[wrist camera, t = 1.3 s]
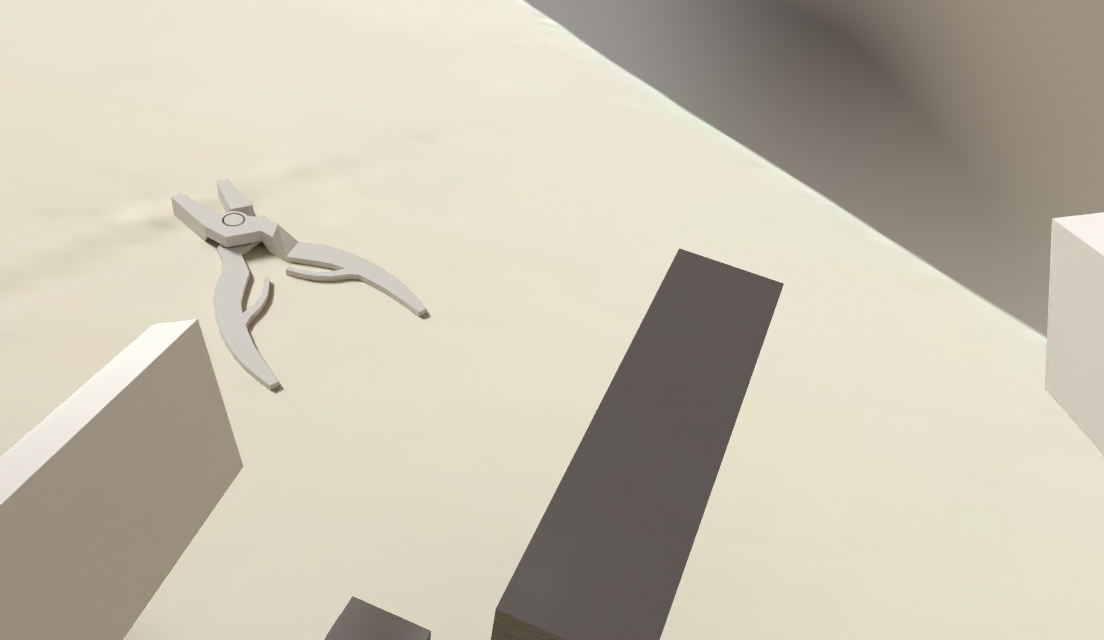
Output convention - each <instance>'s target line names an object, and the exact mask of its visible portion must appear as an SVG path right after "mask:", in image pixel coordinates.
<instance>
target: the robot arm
mask: <svg viewBox="0 0 1104 640" xmlns="http://www.w3.org/2000/svg"><path fill="white" fill-rule="evenodd" d="M1045 389H1046V390H1047V391H1048V392H1049V394H1050V395H1051V396H1052V397H1053V398H1054V399H1055V400H1056V402H1057V403H1058V404H1059V405H1060V406H1061V407H1062V408H1063V410H1064V411H1065V412H1066V413H1067V414H1068V415H1069V416H1070V417H1071V419H1072V420H1073V421H1074V422H1075V423H1076V424H1077V425H1078V427H1079V428H1080V429H1081V430H1082V431H1083V432H1084V433H1085V435H1086V436H1087V437H1088V438H1089V439H1090V440H1091V441H1092V443H1093V444H1094V445H1095V446H1096V447H1097V448H1098V449H1099V451H1100V452H1101V453H1102V454H1103V455H1104V213H1095V214H1087V215H1079V216H1069V217H1061V218H1053V219H1052V235H1051V259H1050V282H1049V305H1048V329H1047V352H1046V375H1045ZM242 467H243V464H242V461H241V458H240V454H239V451H238V448H237V445H236V441H235V438H234V435H233V432H232V429H231V425H230V422H229V419H228V416H227V412H226V409H225V406H224V403H223V399H222V396H221V393H220V390H219V386H218V383H217V380H216V377H215V374H214V370H213V367H212V364H211V361H210V357H209V354H208V351H207V348H206V344H205V341H204V338H203V335H202V331H201V328H200V325H199V322H198V319H193V320H185V321H176V322H168V323H159V324H153V325H152V326H151V327H149V328H148V329H147V330H146V331H145V332H144V333H142V334H141V335H140V336H139V337H138V338H137V339H136V340H134V341H133V342H132V343H131V344H130V345H129V346H127V347H126V348H125V349H124V350H123V351H122V352H121V353H119V354H118V355H117V356H116V357H115V358H114V359H112V360H111V361H110V362H109V363H108V364H107V365H106V366H104V367H103V368H102V369H101V370H100V371H99V372H97V373H96V374H95V375H94V376H93V377H92V378H90V379H89V380H88V381H87V382H86V383H85V384H84V385H82V386H81V387H80V388H79V389H78V390H77V391H75V392H74V393H73V394H72V395H71V396H70V397H69V398H67V399H66V400H65V401H64V402H63V403H62V404H60V405H59V406H58V407H57V408H56V409H55V410H54V411H52V412H51V413H50V414H49V415H48V416H47V417H45V418H44V419H43V420H42V421H41V422H40V423H39V424H37V425H36V426H35V427H34V428H33V429H32V430H30V431H29V432H28V433H27V434H26V435H25V436H23V437H22V438H21V439H20V440H19V441H18V442H17V443H15V444H14V445H13V446H12V447H11V448H10V449H8V450H7V451H6V452H5V453H4V454H3V455H2V456H0V640H123V638H124V637H125V636H126V634H127V633H128V631H129V630H130V628H131V627H132V625H133V624H134V623H135V621H136V620H137V618H138V617H139V615H140V614H141V613H142V611H143V610H144V608H145V607H146V605H147V604H148V602H149V601H150V600H151V598H152V597H153V595H154V594H155V592H156V591H157V590H158V588H159V587H160V585H161V584H162V582H163V581H164V579H165V578H166V577H167V575H168V574H169V572H170V571H171V569H172V568H173V567H174V565H175V564H176V562H177V561H178V559H179V558H180V556H181V555H182V554H183V552H184V551H185V549H186V548H187V546H188V545H189V544H190V542H191V541H192V539H193V538H194V536H195V535H196V533H197V532H198V531H199V529H200V528H201V526H202V525H203V523H204V522H205V521H206V519H207V518H208V516H209V515H210V513H211V512H212V510H213V509H214V508H215V506H216V505H217V503H218V502H219V500H220V499H221V498H222V496H223V495H224V493H225V492H226V490H227V489H228V487H229V486H230V485H231V483H232V482H233V480H234V479H235V477H236V476H237V475H238V473H239V472H240V470H241V469H242Z"/></svg>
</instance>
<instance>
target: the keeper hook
mask: <svg viewBox="0 0 1104 640" xmlns="http://www.w3.org/2000/svg"><path fill="white" fill-rule="evenodd" d="M782 287H783V283H780V282H777V281H774V280H771V279H768V278H765V277H762V276H759V275H756V274H753V273H750V272H747V271H745V270H742V269H739V268H736V267H733V266H730V265H727V264H724V263H721V262H718V261H715V260H712V259H709V258H706V257H703V256H700V255H697V254H694V253H691V252H688V251H685V250H682V249H679V250H678V252H677V254H676V256H675V258H674V260H673V262H672V264H671V266H670V268H669V270H668V272H667V274H666V276H665V278H664V280H663V282H662V284H661V286H660V288H659V290H658V291H657V293H656V295H655V297H654V299H653V301H652V303H651V305H650V307H649V309H648V311H647V313H646V315H645V317H644V319H643V321H642V323H641V325H640V327H639V329H638V331H637V333H636V335H635V337H634V339H633V341H632V343H631V345H630V347H629V348H628V350H627V352H626V354H625V356H624V358H623V360H622V362H621V364H620V366H619V368H618V370H617V372H616V374H615V376H614V378H613V380H612V382H611V384H610V386H609V388H608V390H607V392H606V394H605V396H604V398H603V400H602V402H601V403H600V405H599V407H598V409H597V411H596V413H595V415H594V417H593V419H592V421H591V423H590V425H589V427H588V429H587V431H586V433H585V435H584V437H583V439H582V441H581V443H580V445H579V447H578V449H577V451H576V453H575V455H574V457H573V458H572V460H571V462H570V464H569V466H568V468H567V470H566V472H565V474H564V476H563V478H562V480H561V482H560V484H559V486H558V488H557V490H556V492H555V494H554V496H553V498H552V500H551V502H550V504H549V506H548V508H547V510H546V512H545V513H544V515H543V517H542V519H541V521H540V523H539V525H538V527H537V529H536V531H535V533H534V535H533V537H532V539H531V541H530V543H529V545H528V547H527V549H526V551H525V553H524V555H523V557H522V559H521V561H520V563H519V565H518V567H517V568H516V570H515V572H514V574H513V576H512V578H511V580H510V582H509V584H508V586H507V588H506V590H505V592H504V594H503V596H502V598H501V600H500V602H499V604H498V606H497V608H496V611H495V618H494V624H493V630H492V636H491V640H660V637H661V634H662V631H663V628H664V626H665V623H666V620H667V617H668V614H669V611H670V608H671V605H672V603H673V600H674V597H675V594H676V591H677V588H678V585H679V583H680V580H681V577H682V574H683V571H684V568H685V565H686V562H687V560H688V557H689V554H690V551H691V548H692V545H693V542H694V540H695V537H696V534H697V531H698V528H699V525H700V522H701V519H702V517H703V514H704V511H705V508H706V505H707V502H708V499H709V497H710V494H711V491H712V488H713V485H714V482H715V479H716V477H717V474H718V471H719V468H720V465H721V462H722V459H723V456H724V454H725V451H726V448H727V445H728V442H729V439H730V436H731V434H732V431H733V428H734V425H735V422H736V419H737V416H738V413H739V411H740V408H741V405H742V402H743V399H744V396H745V393H746V391H747V388H748V385H749V382H750V379H751V376H752V373H753V370H754V368H755V365H756V362H757V359H758V356H759V353H760V350H761V348H762V345H763V342H764V339H765V336H766V333H767V330H768V327H769V325H770V322H771V319H772V316H773V313H774V310H775V307H776V305H777V302H778V299H779V296H780V293H781V290H782Z"/></svg>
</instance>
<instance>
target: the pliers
mask: <svg viewBox="0 0 1104 640" xmlns="http://www.w3.org/2000/svg"><path fill="white" fill-rule="evenodd" d="M217 186H218V194H219V198H220V200H221V203H222V205H223V207H224V209H225V211H226V213H224V214H221V213H217V212H215V211H213V210H211V209H210V208H208V207H206V206H204V205H202V204H200V203H198V202H196V201H195V200H193V199H191V198H189V197H187V196H185V195H183V194H181V193H178V194H176V195H174V196H173V197H171V198H172V204H173V210H174V215H175V216H176V217H177V218H178V219H180V220H181V221H182V222H183V223H184V224H185V225H187V226H188V227H189V228H190V229H191V230H192V231H193V232H195V233H196V234H197V235H198V236H199V237H200V238H201V239H203V240H204V241H206V240H208V239H210V238H211V239H212V240H214V241H216V242H218V243H220V244H219V246H218V248H217V249H218V254H219V256H220V258H221V260H222V274H221V276H220V278H219V281H218V283H217V286H216V288H215V294H214V307H215V314H216V321H217V324H218V327H219V330H220V333H221V335H222V338H223V340H224V342H225V344H226V346H227V348H228V349H229V351H230V352H231V354H232V355H233V357H234V358H235V359H236V360H237V362H238V363H239V364H240V365H241V366H242V367H243V369H244V370H246V371H247V372H248V373H249V374H250V375H251V376H252V377H254V378H255V379H256V380H257V381H259V382H260V383H261V384H263V385H264V386H265V387H267V388H268V389H269V390H272V389H274V388H276V387H278V386H279V381H278V380H277V378H276V377H275V376H274V374H273V373H272V372H271V370H270V369H269V368H268V366H267V365H266V363H265V362H264V360H263V358H262V357H261V355H260V354H259V352H258V351H257V349H256V347H255V346H254V344H253V341H252V339H251V337H250V335H249V332H248V330H247V327H248V326H249V324H250V322H251V321H252V320H253V319H254V318H255V317H256V316H257V315H258V314H259V313H260V312H261V311H262V310H263V308H264V306H265V305H266V303H267V301H268V296H269V291H270V282H269V277H264V287H263V291H262V295H261V297H260V298H259V299H258V301H257V302H256V304H255V305H254V306H252V307H251V308H249V309H248V310H246V311H245V312H243V313H242V308H241V306H242V302H243V298H244V294H245V291H246V288H247V285H248V281H249V278H250V272H249V270H248V268H247V265H246V263H245V261H244V259H243V257H242V256H243V255H244V254H246V253H247V252H248V251H250V250H251V249H253V248H254V247H256V246H257V245H258V244H260V243H261V242H263V244H264V245H265V246H266V248H267V249H268V251H269V252H270V253H272V254H274V255H276V256H278V257H280V258H281V259H283V260H285V261H287V262H294V263H301V264H308V265H314V266H320V267H325V268H331V269H334V270H336V271H332V272H310V271H304V270H299V269H295V268H291V267H288V268H287V269H286V275H290V276H294V277H297V278H301V279H307V280H312V281H337V280H345V279H359V280H361V281H363V282H365V283H367V284H369V285H371V286H373V287H374V288H376V289H378V290H380V291H382V292H383V293H385V294H386V295H388V296H390V297H391V298H393V299H394V300H396V301H397V302H399V303H400V304H402V305H403V306H405V307H406V308H407V309H409V310H410V311H411V312H413V313H414V314H415V315H417V316H418V317H420V316H422V315H424V314H426V308H425V306H424V305H423V304H422V303H421V301H420V300H419V299H418V298H417V297H416V296H415V295H414V293H413V292H412V291H411V290H410V289H409V288H408V287H407V286H406V285H404V284H403V283H402V282H401V281H399V280H398V279H397V278H396V277H394V276H393V275H391V274H390V273H388V272H387V271H385V270H384V269H382V268H380V267H379V266H377V265H375V264H373V263H371V262H369V261H367V260H365V259H363V258H361V257H358V256H356V255H354V254H351V253H348V252H346V251H343V250H340V249H336V248H333V247H329V246H325V245H319V244H311V243H303V242H298V241H297V240H295V239H294V238H293V237H292V236H291V235H290V234H288V233H287V232H286V231H285V230H284V229H283V228H281V227H280V226H279V225H278V224H276V223H275V222H273V221H271V220H269V219H267V218H265V217H258V216H255V214H254V211H253V207H252V205H251V204H250V203H249V202H248V200H247V199H246V198H245V197H244V196H243V195H242V194H241V193H240V192H239V191H238V190H237V189H236V188H235V187H234V186H233V185H232V184H231V182H230V181H229V180H228V179H226V180H220V181H217Z"/></svg>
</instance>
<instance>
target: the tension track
mask: <svg viewBox="0 0 1104 640" xmlns="http://www.w3.org/2000/svg"><path fill="white" fill-rule="evenodd" d="M430 636H431V631H430V630H428V629H425V628H423V627H421V626H419V625H416V624H414V623H412V622H409V621H407V620H405V619H403V618H400V617H398V616H396V615H394V614H391V613H389V612H387V611H385V610H382V609H380V608H378V607H376V606H373V605H371V604H369V603H367V602H364V601H362V600H360V599H357V598H355V597H352V598H351V600H350V601H349V603H348V604H347V606H346V607H345V609H344V610H343V612H342V614H340V616H339V617H338V619H337V620H336V622H335V623H334V625H333V627H332V628H331V630H330V631H329V633H328V634H327V636H326V638H325V640H430Z"/></svg>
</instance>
